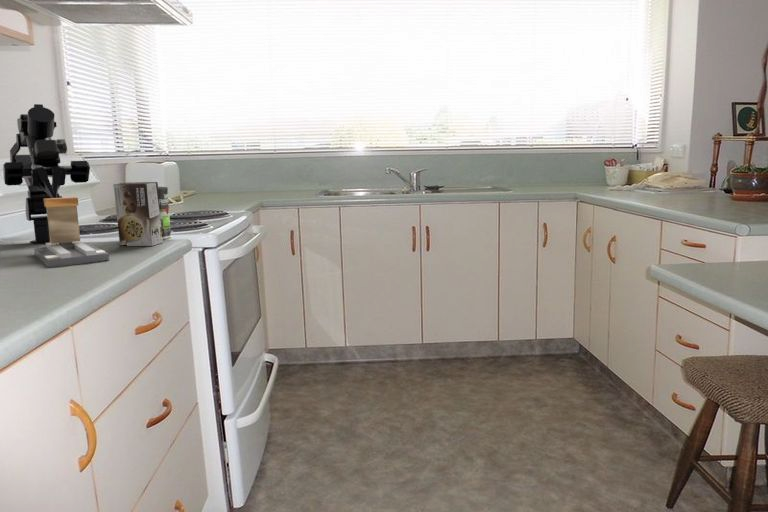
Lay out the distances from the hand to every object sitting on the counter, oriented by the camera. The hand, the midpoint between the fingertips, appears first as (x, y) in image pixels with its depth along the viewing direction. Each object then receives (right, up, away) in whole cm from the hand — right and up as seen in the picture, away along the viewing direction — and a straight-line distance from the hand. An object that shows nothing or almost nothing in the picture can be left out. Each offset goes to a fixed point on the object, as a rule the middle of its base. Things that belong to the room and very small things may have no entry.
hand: (54, 197), depth 146 cm
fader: (+5, -12, -5) cm, 14 cm away
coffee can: (+16, -10, +21) cm, 28 cm away
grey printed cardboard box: (+17, -12, +10) cm, 23 cm away
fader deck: (+8, -15, -8) cm, 19 cm away
